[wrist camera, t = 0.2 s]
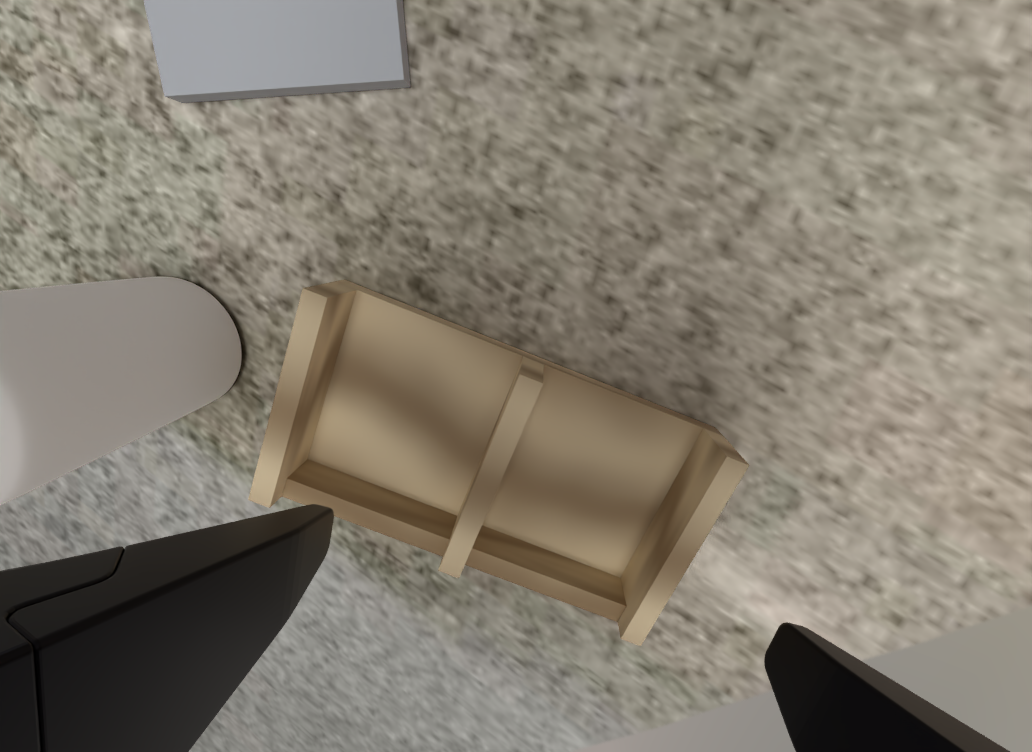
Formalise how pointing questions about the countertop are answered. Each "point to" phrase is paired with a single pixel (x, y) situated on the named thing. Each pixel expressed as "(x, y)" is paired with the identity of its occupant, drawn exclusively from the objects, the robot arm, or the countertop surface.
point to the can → (103, 370)
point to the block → (277, 47)
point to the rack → (491, 456)
